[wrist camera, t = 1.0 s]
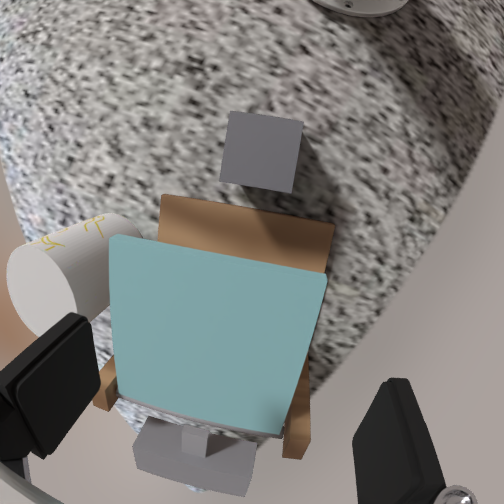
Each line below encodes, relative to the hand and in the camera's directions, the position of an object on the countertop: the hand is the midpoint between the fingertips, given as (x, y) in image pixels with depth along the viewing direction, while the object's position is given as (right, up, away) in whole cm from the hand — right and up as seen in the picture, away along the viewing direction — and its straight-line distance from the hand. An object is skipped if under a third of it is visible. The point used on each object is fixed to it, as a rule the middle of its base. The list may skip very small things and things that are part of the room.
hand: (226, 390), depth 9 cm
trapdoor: (-3, -5, +13) cm, 14 cm away
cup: (-14, +4, +22) cm, 26 cm away
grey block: (+2, +13, +17) cm, 21 cm away
